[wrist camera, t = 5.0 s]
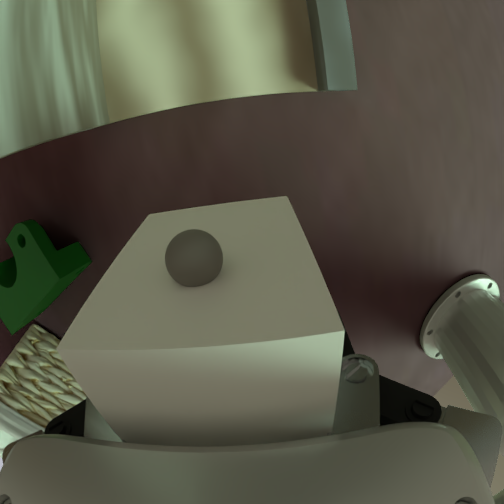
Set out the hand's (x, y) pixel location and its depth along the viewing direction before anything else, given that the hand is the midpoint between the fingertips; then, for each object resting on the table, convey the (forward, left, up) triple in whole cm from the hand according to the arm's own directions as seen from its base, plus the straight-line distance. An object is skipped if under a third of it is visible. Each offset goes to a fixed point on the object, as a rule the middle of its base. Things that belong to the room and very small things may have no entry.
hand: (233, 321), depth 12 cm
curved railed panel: (+1, -19, -14) cm, 24 cm away
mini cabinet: (0, 0, -1) cm, 1 cm away
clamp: (+19, +2, -14) cm, 24 cm away
